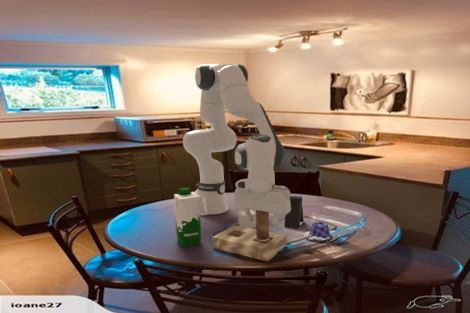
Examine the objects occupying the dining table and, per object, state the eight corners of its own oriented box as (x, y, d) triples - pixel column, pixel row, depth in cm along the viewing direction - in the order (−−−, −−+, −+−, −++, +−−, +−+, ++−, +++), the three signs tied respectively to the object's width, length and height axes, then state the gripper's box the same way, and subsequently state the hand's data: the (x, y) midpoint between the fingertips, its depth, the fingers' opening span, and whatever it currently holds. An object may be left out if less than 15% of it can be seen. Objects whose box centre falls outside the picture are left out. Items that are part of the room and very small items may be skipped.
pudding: (341, 242, 127) (341, 228, 127) (308, 244, 127) (308, 230, 126) (330, 230, 139) (330, 218, 139) (300, 232, 139) (300, 219, 138)
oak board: (212, 247, 126) (212, 237, 125) (234, 235, 138) (234, 225, 137) (267, 261, 114) (267, 249, 113) (286, 246, 125) (286, 235, 125)
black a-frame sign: (298, 228, 142) (298, 199, 140) (284, 227, 144) (283, 198, 143) (303, 221, 150) (303, 194, 148) (290, 220, 153) (289, 193, 151)
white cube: (238, 224, 149) (238, 211, 148) (252, 223, 151) (251, 209, 150) (242, 229, 143) (242, 215, 143) (256, 227, 145) (256, 213, 144)
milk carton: (196, 236, 138) (194, 185, 135) (204, 244, 130) (201, 190, 127) (174, 240, 135) (171, 188, 132) (180, 248, 126) (177, 194, 123)
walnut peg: (254, 251, 122) (252, 211, 120) (260, 246, 126) (259, 208, 124) (265, 253, 119) (264, 213, 117) (272, 249, 123) (271, 210, 121)
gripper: (293, 184, 116) (294, 225, 118) (241, 178, 127) (242, 215, 130) (285, 189, 111) (285, 231, 113) (231, 182, 122) (232, 220, 124)
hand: (262, 222), depth 121 cm, fingers open, 8 cm apart
